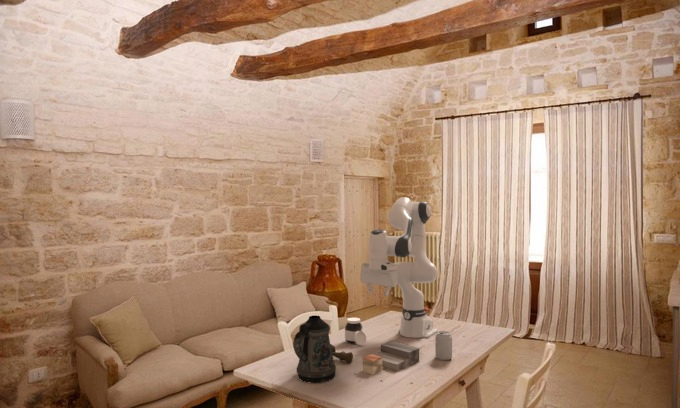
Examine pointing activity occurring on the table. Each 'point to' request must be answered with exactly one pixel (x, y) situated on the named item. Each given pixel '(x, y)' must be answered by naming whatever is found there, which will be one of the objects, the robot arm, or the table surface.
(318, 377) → the beer stein
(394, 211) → the robot arm
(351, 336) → the spread jar
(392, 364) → the stair block
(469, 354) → the table surface
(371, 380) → the table surface
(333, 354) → the kendama
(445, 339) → the can
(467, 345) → the table surface
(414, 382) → the table surface
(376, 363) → the maple cube
